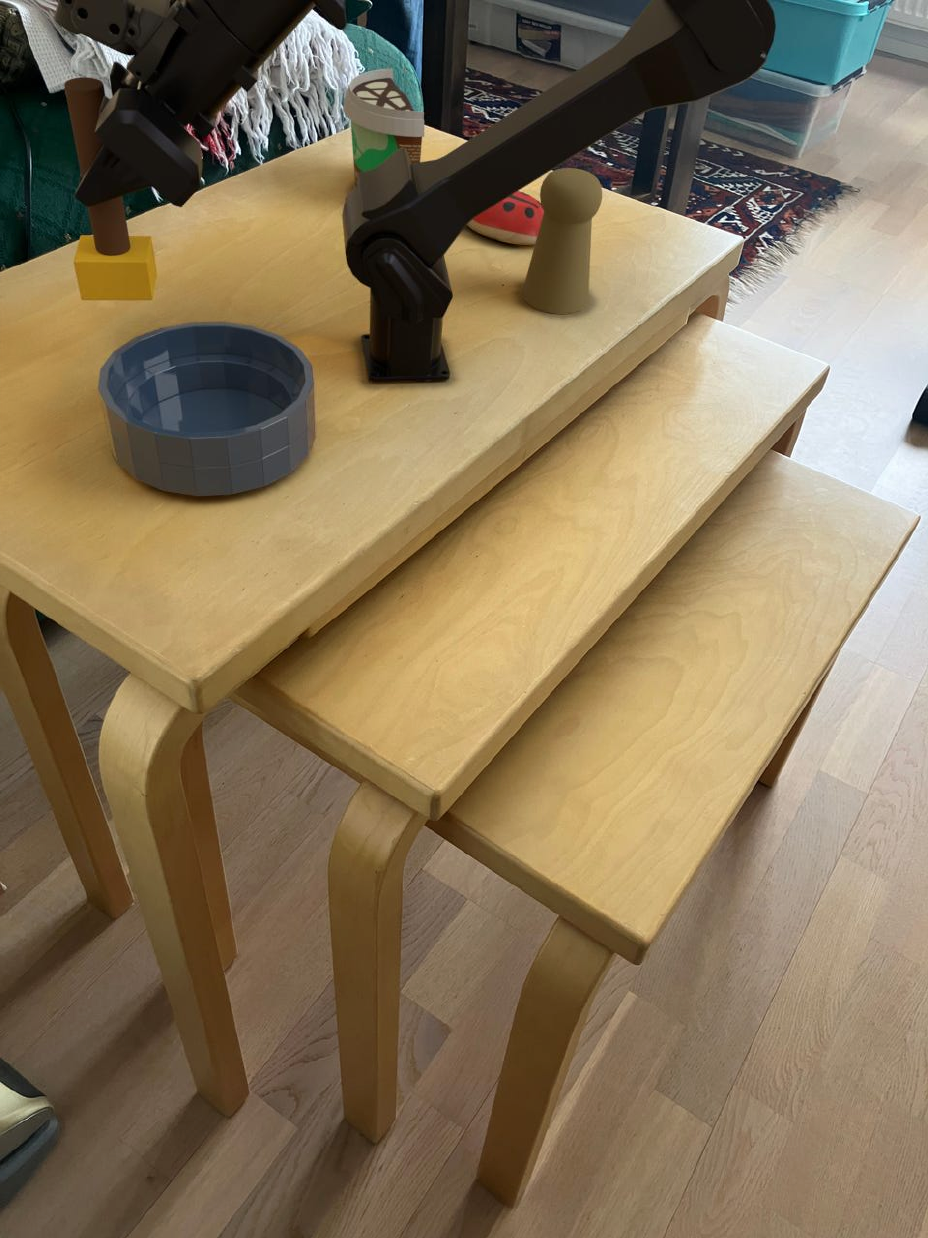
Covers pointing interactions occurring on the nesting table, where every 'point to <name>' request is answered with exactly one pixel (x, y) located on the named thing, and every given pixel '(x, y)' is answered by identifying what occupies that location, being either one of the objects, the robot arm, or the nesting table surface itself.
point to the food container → (381, 120)
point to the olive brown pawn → (563, 242)
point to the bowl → (208, 407)
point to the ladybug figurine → (511, 220)
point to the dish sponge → (106, 217)
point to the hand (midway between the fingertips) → (83, 192)
